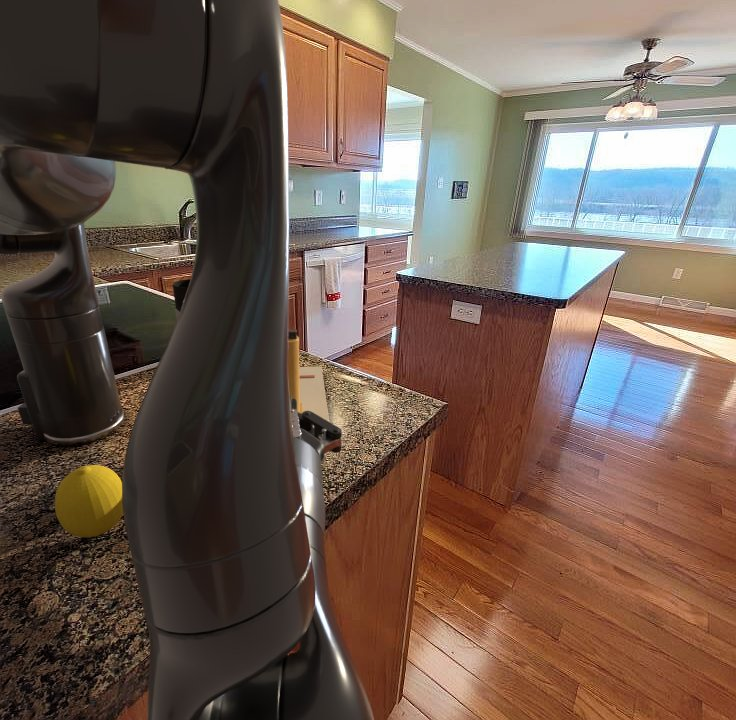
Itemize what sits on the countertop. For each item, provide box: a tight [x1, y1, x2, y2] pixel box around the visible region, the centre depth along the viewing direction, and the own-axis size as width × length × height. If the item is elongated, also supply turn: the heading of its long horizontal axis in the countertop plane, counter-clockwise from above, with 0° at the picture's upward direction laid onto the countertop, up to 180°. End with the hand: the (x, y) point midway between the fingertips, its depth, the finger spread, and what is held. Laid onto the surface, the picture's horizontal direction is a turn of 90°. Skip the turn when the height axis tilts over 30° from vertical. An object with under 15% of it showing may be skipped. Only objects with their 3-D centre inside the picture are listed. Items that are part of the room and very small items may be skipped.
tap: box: [288, 328, 303, 413], centre depth 55 cm, size 9×4×13 cm, turn 99°
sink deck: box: [299, 365, 330, 427], centre depth 64 cm, size 12×24×2 cm, turn 9°
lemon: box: [54, 464, 124, 538], centre depth 38 cm, size 6×6×8 cm
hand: (285, 401), depth 49 cm, fingers closed
